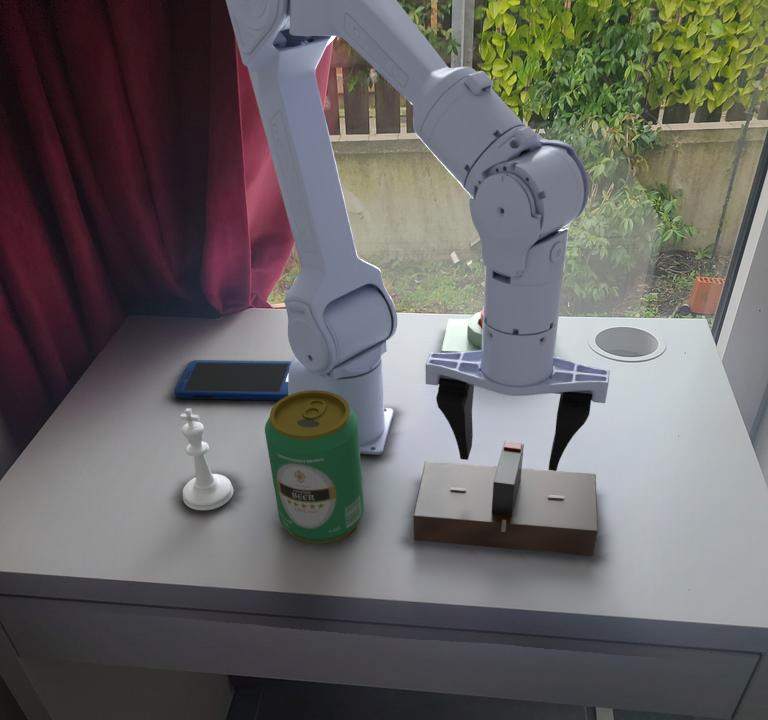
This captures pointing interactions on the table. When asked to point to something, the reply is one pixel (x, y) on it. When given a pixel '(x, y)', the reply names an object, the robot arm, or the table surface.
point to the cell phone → (234, 380)
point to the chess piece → (202, 471)
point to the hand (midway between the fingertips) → (509, 458)
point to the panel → (530, 514)
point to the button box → (463, 335)
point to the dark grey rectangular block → (507, 478)
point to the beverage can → (315, 465)
